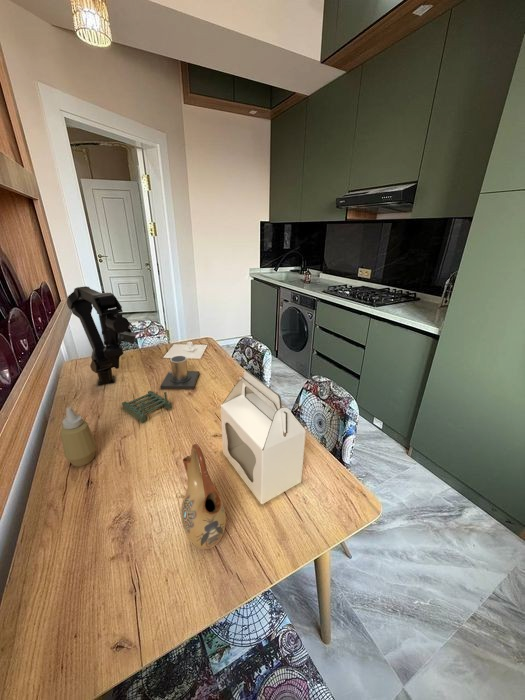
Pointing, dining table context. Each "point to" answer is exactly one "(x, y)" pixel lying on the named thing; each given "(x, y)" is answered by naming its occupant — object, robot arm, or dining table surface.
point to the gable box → (262, 438)
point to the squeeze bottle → (77, 439)
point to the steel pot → (179, 368)
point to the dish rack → (150, 395)
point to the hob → (184, 384)
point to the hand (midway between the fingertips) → (117, 363)
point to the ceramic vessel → (201, 504)
